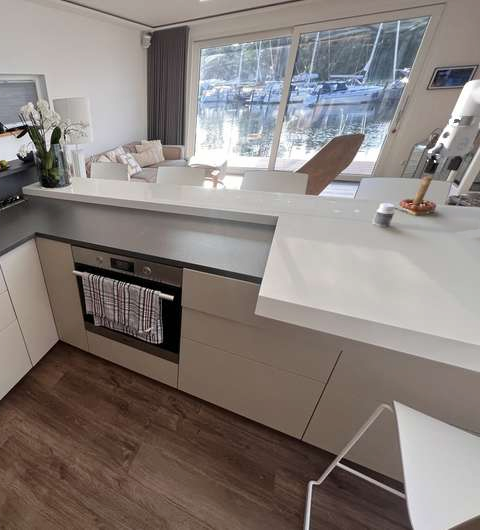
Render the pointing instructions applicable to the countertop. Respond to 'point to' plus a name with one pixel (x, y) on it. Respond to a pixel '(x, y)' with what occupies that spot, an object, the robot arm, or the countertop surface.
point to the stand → (421, 195)
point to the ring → (427, 207)
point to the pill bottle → (384, 215)
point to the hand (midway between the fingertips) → (440, 171)
